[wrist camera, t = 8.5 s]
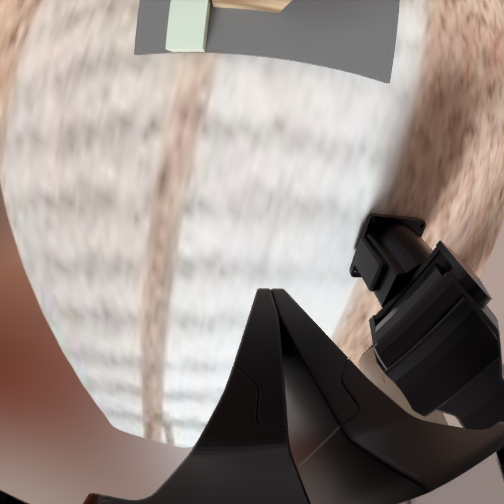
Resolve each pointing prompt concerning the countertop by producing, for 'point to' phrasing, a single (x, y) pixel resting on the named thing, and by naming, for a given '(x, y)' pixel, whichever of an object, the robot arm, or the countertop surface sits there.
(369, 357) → the thermos bottle
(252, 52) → the mat
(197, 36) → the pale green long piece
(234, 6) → the tee block
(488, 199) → the countertop surface
